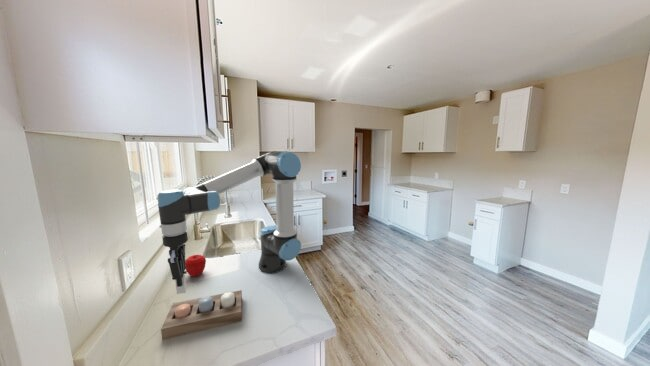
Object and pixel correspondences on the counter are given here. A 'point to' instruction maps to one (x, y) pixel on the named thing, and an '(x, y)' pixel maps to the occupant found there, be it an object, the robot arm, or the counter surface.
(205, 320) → the console
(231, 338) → the counter surface
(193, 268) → the apple
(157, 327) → the counter surface
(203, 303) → the button slate
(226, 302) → the button cream
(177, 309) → the button terracotta
